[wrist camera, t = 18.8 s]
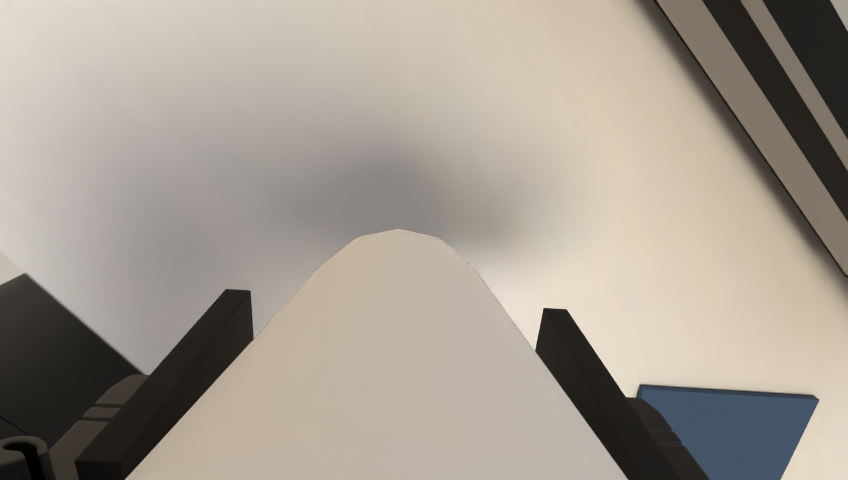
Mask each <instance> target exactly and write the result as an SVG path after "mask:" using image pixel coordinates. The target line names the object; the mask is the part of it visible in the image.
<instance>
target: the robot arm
mask: <svg viewBox="0 0 848 480" xmlns="http://www.w3.org/2000/svg"><path fill="white" fill-rule="evenodd" d="M253 340H254V339H253V323H252V306H251V291H250V290H233V289H226V290H225V291H224V292H223V293H222V294H221V295H220V296H219V298H218V299H217V300H216V301H215V302H214V303H213V304H212V305H211V307H210V308H209V309H208V310H207V311H206V312H205V313H204V315H203V316H202V317H201V318H200V319H199V320H198V321H197V322H196V324H195V325H194V326H193V327H192V328H191V329H190V330H189V331H188V333H187V334H186V335H185V336H184V337H183V338H182V339H181V341H180V342H179V343H178V344H177V345H176V346H175V347H174V348H173V350H172V351H171V352H170V353H169V354H168V355H167V356H166V358H165V359H164V360H163V361H162V362H161V363H160V364H159V365H158V367H157V368H156V369H155V370H154V371H153V372H152V373H151V375H133V374H132V375H130V376H129V377H127V378H125V379H124V380H122V381H120V382H119V383H117V384H116V385H114V386H112V387H111V388H109V389H108V390H107V391H106V392H105V394H104V395H103V396H102V397H101V398H100V399H99V400H98V401H97V402H96V403H95V404H94V407H91V408H90V409H89V410H88V411H87V412H86V413H85V414H84V415H83V416H82V417H81V420H80V421H77V422H76V423H75V424H74V425H73V426H72V427H71V428H70V429H69V430H68V431H67V432H66V433H65V434H64V436H63V437H62V438H61V439H60V440H59V441H58V442H57V443H56V444H55V445H54V446H53V447H52V448H51V449H50V450H49V451H48V448H47V444H46V443H45V442H44V441H43V440H41V439H40V438H39V437H32V436H18V437H11V438H6V439H3V440H0V480H125V479H126V478H127V477H128V476H129V475H130V474H131V473H132V472H133V471H134V469H135V468H136V467H137V466H138V465H139V464H140V463H141V462H142V461H143V460H144V459H145V457H146V456H147V455H148V454H149V453H150V452H151V451H152V450H153V449H154V448H155V446H156V445H157V444H158V443H159V442H160V441H161V440H162V439H163V438H164V437H165V436H166V434H167V433H168V432H169V431H170V430H171V429H172V428H173V427H174V426H175V425H176V424H177V422H178V421H179V420H180V419H181V418H182V417H183V416H184V415H185V414H186V413H187V412H188V410H189V409H190V408H191V407H192V406H193V405H194V404H195V403H196V402H197V401H198V400H199V398H200V397H201V396H202V395H203V394H204V393H205V392H206V391H207V390H208V389H209V388H210V386H211V385H212V384H213V383H214V382H215V381H216V380H217V379H218V378H219V377H220V376H221V374H222V373H223V372H224V371H225V370H226V369H227V368H228V367H229V366H230V365H231V364H232V362H233V361H234V360H235V359H236V358H237V357H238V356H239V355H240V354H241V353H242V352H243V350H244V349H245V348H246V347H247V346H248V345H249V344H250V343H251V342H252V341H253ZM535 352H536V353H537V355H538V356H539V357H540V359H541V360H542V362H543V363H544V364H545V366H546V367H547V368H548V370H549V371H550V373H551V374H552V375H553V377H554V378H555V379H556V381H557V382H558V384H559V385H560V386H561V388H562V389H563V391H564V392H565V393H566V395H567V396H568V397H569V399H570V400H571V402H572V403H573V404H574V406H575V407H576V408H577V410H578V411H579V413H580V414H581V415H582V417H583V418H584V420H585V421H586V422H587V424H588V425H589V426H590V428H591V429H592V431H593V432H594V433H595V435H596V436H597V437H598V439H599V440H600V442H601V443H602V444H603V446H604V447H605V449H606V450H607V451H608V453H609V454H610V455H611V457H612V458H613V460H614V461H615V462H616V464H617V465H618V466H619V468H620V469H621V471H622V472H623V473H624V475H625V476H626V478H627V479H628V480H710V479H709V478H708V476H707V475H706V474H705V472H704V471H703V470H702V468H701V467H700V466H699V464H698V463H697V462H696V460H695V459H694V457H693V456H692V455H691V453H690V452H689V451H688V449H687V448H686V447H685V445H682V441H681V440H680V439H679V437H678V436H677V435H676V433H675V432H672V428H671V427H670V425H669V424H668V423H667V421H666V420H665V419H664V417H663V416H662V415H661V413H660V412H659V411H658V410H656V409H655V408H654V407H652V406H651V405H650V404H649V403H647V402H646V401H645V400H644V399H642V398H630V397H625V395H624V394H623V393H622V391H621V390H620V388H619V387H618V385H617V384H616V382H615V381H614V379H613V378H612V376H611V375H610V373H609V372H608V370H607V369H606V367H605V366H604V364H603V363H602V361H601V360H600V358H599V357H598V355H597V354H596V352H595V351H594V349H593V348H592V346H591V345H590V344H589V342H588V341H587V339H586V338H585V336H584V335H583V333H582V332H581V330H580V329H579V327H578V326H577V324H576V323H575V321H574V320H573V318H572V317H571V315H570V314H569V312H568V311H567V309H551V308H544V309H543V314H542V319H541V324H540V329H539V335H538V340H537V345H536V350H535Z"/></svg>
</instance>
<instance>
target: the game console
mask: <svg viewBox="0 0 848 480" xmlns="http://www.w3.org/2000/svg"><path fill="white" fill-rule="evenodd" d="M654 1H655V3H656V4H657V5H658V7H659V8H660V10H661V11H662V13H663V14H664V16H665V17H666V18H667V20H668V21H669V23H670V24H671V26H672V27H673V29H674V30H675V31H676V33H677V34H678V36H679V37H680V39H681V40H682V42H683V43H684V44H685V46H686V47H687V49H688V50H689V52H690V53H691V55H692V56H693V57H694V59H695V60H696V62H697V63H698V65H699V66H700V68H701V69H702V70H703V72H704V73H705V75H706V76H707V78H708V79H709V81H710V82H711V83H712V85H713V86H714V88H715V89H716V91H717V92H718V94H719V95H720V96H721V98H722V99H723V101H724V102H725V104H726V105H727V107H728V108H729V109H730V111H731V112H732V114H733V115H734V117H735V118H736V120H737V121H738V122H739V124H740V125H741V127H742V128H743V130H744V131H745V133H746V134H747V135H748V137H749V138H750V140H751V141H752V143H753V144H754V146H755V147H756V148H757V150H758V151H759V153H760V154H761V156H762V157H763V159H764V160H765V161H766V163H767V164H768V166H769V167H770V169H771V170H772V172H773V173H774V174H775V176H776V177H777V179H778V180H779V182H780V183H781V185H782V186H783V187H784V189H785V190H786V192H787V193H788V195H789V196H790V198H791V199H792V200H793V202H794V203H795V205H796V206H797V208H798V209H799V211H800V212H801V213H802V215H803V216H804V218H805V219H806V221H807V222H808V224H809V225H810V226H811V228H812V229H813V231H814V232H815V234H816V235H817V237H818V238H819V239H820V241H821V242H822V244H823V245H824V247H825V248H826V250H827V251H828V252H829V254H830V255H831V257H832V258H833V260H834V261H835V263H836V264H837V265H838V267H839V268H840V270H841V271H842V273H843V274H844V275H845V277H847V278H848V0H654Z"/></svg>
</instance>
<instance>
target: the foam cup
mask: <svg viewBox="0 0 848 480" xmlns="http://www.w3.org/2000/svg"><path fill="white" fill-rule="evenodd" d="M125 480H628V479H627V478H626V476H625V475H624V473H623V472H622V471H621V469H620V468H619V466H618V465H617V464H616V462H615V461H614V460H613V458H612V457H611V455H610V454H609V453H608V451H607V450H606V449H605V447H604V446H603V444H602V443H601V442H600V440H599V439H598V437H597V436H596V435H595V433H594V432H593V431H592V429H591V428H590V426H589V425H588V424H587V422H586V421H585V420H584V418H583V417H582V415H581V414H580V413H579V411H578V410H577V408H576V407H575V406H574V404H573V403H572V402H571V400H570V399H569V397H568V396H567V395H566V393H565V392H564V391H563V389H562V388H561V386H560V385H559V384H558V382H557V381H556V379H555V378H554V377H553V375H552V374H551V373H550V371H549V370H548V368H547V367H546V366H545V364H544V363H543V362H542V360H541V359H540V357H539V356H538V355H537V353H536V352H535V350H534V349H533V348H532V346H531V345H530V344H529V342H528V341H527V339H526V338H525V337H524V335H523V334H522V333H521V331H520V330H519V328H518V327H517V326H516V324H515V323H514V321H513V320H512V319H511V317H510V316H509V315H508V313H507V312H506V310H505V309H504V308H503V306H502V305H501V304H500V302H499V301H498V299H497V298H496V297H495V295H494V294H493V292H492V291H491V290H490V288H489V287H488V286H487V284H486V283H485V281H484V280H483V279H482V277H481V276H480V275H479V273H478V272H477V270H476V269H475V268H474V267H473V266H472V265H471V264H470V262H469V261H468V260H467V259H466V258H464V257H463V256H462V255H460V254H459V253H458V252H457V251H455V250H454V249H453V248H451V247H450V246H449V245H448V244H446V243H445V242H444V241H442V240H441V239H440V238H438V237H433V236H429V235H425V234H420V233H416V232H411V231H407V230H402V229H394V230H389V231H384V232H379V233H375V234H370V235H365V236H360V237H357V238H356V239H354V240H353V241H352V242H350V243H349V244H348V245H346V246H345V247H344V248H342V249H341V250H340V251H339V252H337V253H336V254H335V255H333V256H332V257H331V258H329V259H328V260H327V261H326V262H325V263H324V264H323V265H322V266H320V267H319V269H318V270H317V271H316V272H315V273H314V274H313V275H312V276H311V277H310V278H309V279H308V281H307V282H306V283H305V284H304V285H303V286H302V287H301V288H300V289H299V290H298V292H297V293H296V294H295V295H294V296H293V297H292V298H291V299H290V300H289V301H288V302H287V304H286V305H285V306H284V307H283V308H282V309H281V310H280V311H279V312H278V313H277V314H276V316H275V317H274V318H273V319H272V320H271V321H270V322H269V323H268V324H267V325H266V326H265V328H264V329H263V330H262V331H261V332H260V333H259V334H258V335H257V336H256V337H255V338H254V340H253V341H252V342H251V343H250V344H249V345H248V346H247V347H246V348H245V349H244V350H243V352H242V353H241V354H240V355H239V356H238V357H237V358H236V359H235V360H234V361H233V362H232V364H231V365H230V366H229V367H228V368H227V369H226V370H225V371H224V372H223V373H222V374H221V376H220V377H219V378H218V379H217V380H216V381H215V382H214V383H213V384H212V385H211V386H210V388H209V389H208V390H207V391H206V392H205V393H204V394H203V395H202V396H201V397H200V398H199V400H198V401H197V402H196V403H195V404H194V405H193V406H192V407H191V408H190V409H189V410H188V412H187V413H186V414H185V415H184V416H183V417H182V418H181V419H180V420H179V421H178V422H177V424H176V425H175V426H174V427H173V428H172V429H171V430H170V431H169V432H168V433H167V434H166V436H165V437H164V438H163V439H162V440H161V441H160V442H159V443H158V444H157V445H156V446H155V448H154V449H153V450H152V451H151V452H150V453H149V454H148V455H147V456H146V457H145V459H144V460H143V461H142V462H141V463H140V464H139V465H138V466H137V467H136V468H135V469H134V471H133V472H132V473H131V474H130V475H129V476H128V477H127V478H126V479H125Z"/></svg>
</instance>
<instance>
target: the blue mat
mask: <svg viewBox="0 0 848 480" xmlns="http://www.w3.org/2000/svg"><path fill="white" fill-rule="evenodd" d="M637 398H642V399H644V400H645V401H646V402H647V403H649V404H650V405H651V406H652V407H654V408H655V409H656V410H658V411H659V412H660V413H661V415H662V416H663V417H664V419H665V420H666V421H667V423H668V424H669V425H670V427H671V428H672V432H675V433H676V435H677V436H678V437H679V439H680V440H681V441H682V445H685V447H686V448H687V449H688V451H689V452H690V453H691V455H692V456H693V457H694V459H695V460H696V462H697V463H698V464H699V466H700V467H701V468H702V470H703V471H704V472H705V474H706V475H707V476H708V478H709V479H710V480H780V479H781V477H782V475H783V473H784V471H785V469H786V467H787V465H788V463H789V461H790V459H791V457H792V455H793V453H794V451H795V449H796V447H797V445H798V443H799V441H800V439H801V437H802V435H803V433H804V430H805V428H806V426H807V424H808V422H809V420H810V418H811V416H812V414H813V412H814V410H815V408H816V406H817V404H818V402H819V399H818V398H816V397H815V396H808V395H792V394H775V393H759V392H742V391H726V390H710V389H693V388H677V387H661V386H644V385H641V386H640V389H639V392H638V395H637Z"/></svg>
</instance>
